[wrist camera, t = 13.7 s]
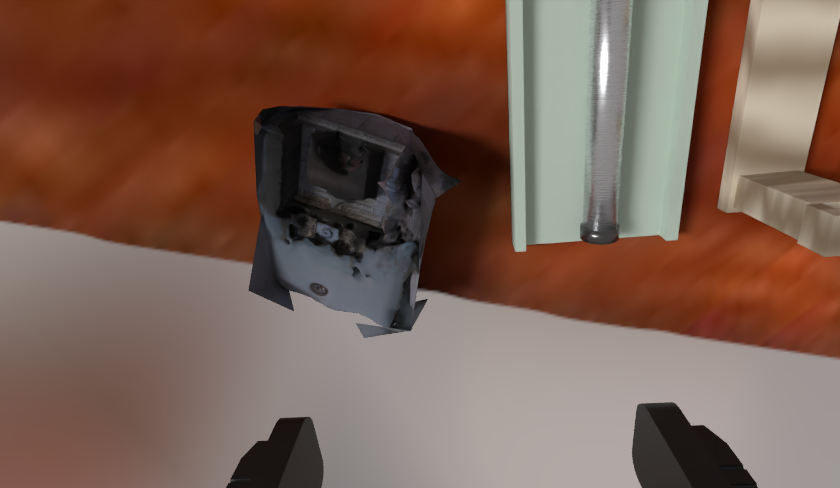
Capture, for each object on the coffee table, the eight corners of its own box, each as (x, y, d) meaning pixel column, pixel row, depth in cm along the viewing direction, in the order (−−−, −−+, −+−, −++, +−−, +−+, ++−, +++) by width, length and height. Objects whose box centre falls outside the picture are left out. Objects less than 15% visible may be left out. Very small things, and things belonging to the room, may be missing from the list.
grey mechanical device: (263, 274, 47) (224, 320, 39) (292, 87, 40) (252, 94, 31) (421, 317, 49) (416, 371, 40) (480, 143, 41) (489, 165, 32)
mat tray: (502, -123, 33) (506, -136, 31) (711, -154, 32) (730, -170, 29) (512, 242, 44) (515, 251, 42) (666, 231, 43) (677, 239, 41)
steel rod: (584, -123, 32) (607, -144, 29) (629, -127, 32) (657, -149, 29) (573, 233, 42) (589, 246, 39) (607, 228, 43) (625, 241, 39)
